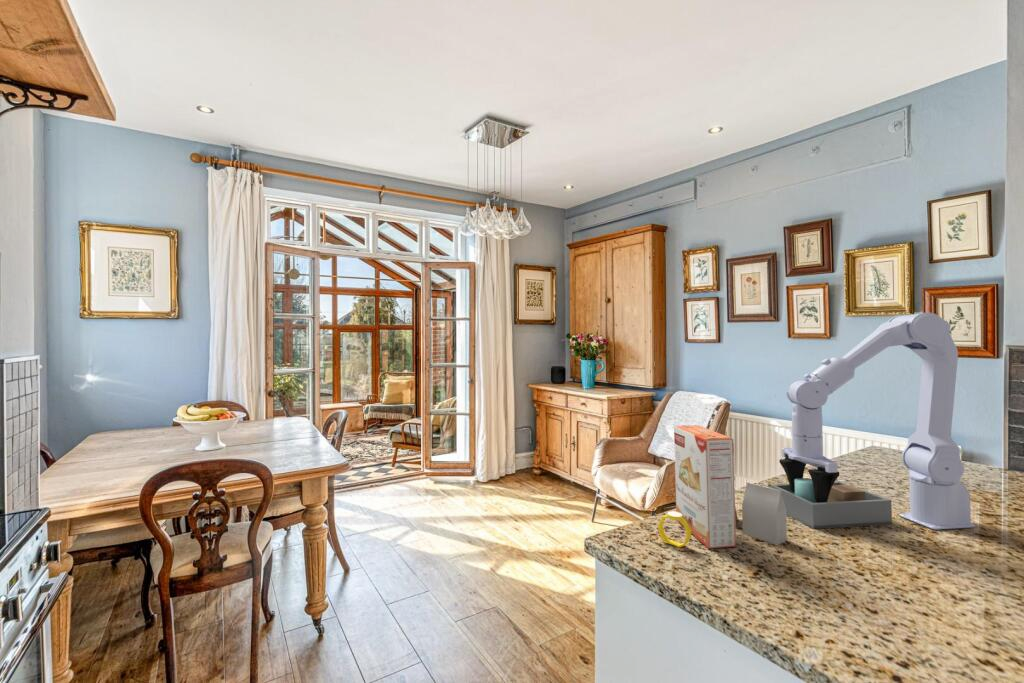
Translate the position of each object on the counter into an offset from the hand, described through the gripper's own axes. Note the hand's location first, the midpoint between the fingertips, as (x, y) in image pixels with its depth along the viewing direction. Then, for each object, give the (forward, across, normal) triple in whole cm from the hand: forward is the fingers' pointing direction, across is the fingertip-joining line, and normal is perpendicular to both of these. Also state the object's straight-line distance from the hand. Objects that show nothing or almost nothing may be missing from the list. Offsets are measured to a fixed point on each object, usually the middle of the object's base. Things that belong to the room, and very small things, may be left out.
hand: (808, 496), depth 103 cm
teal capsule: (+4, 0, 0) cm, 4 cm away
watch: (+4, +10, -36) cm, 37 cm away
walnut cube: (+4, 0, +9) cm, 10 cm away
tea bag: (+4, +9, -16) cm, 19 cm away
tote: (+4, 0, +4) cm, 6 cm away
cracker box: (+4, +6, -28) cm, 29 cm away
